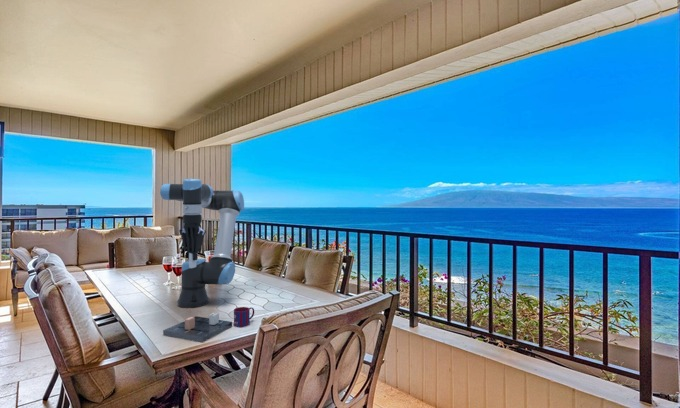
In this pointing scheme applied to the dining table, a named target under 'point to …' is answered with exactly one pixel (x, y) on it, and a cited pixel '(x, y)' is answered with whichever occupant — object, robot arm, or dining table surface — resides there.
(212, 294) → the dining table surface
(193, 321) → the fader
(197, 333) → the dark grey slider board
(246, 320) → the mug
